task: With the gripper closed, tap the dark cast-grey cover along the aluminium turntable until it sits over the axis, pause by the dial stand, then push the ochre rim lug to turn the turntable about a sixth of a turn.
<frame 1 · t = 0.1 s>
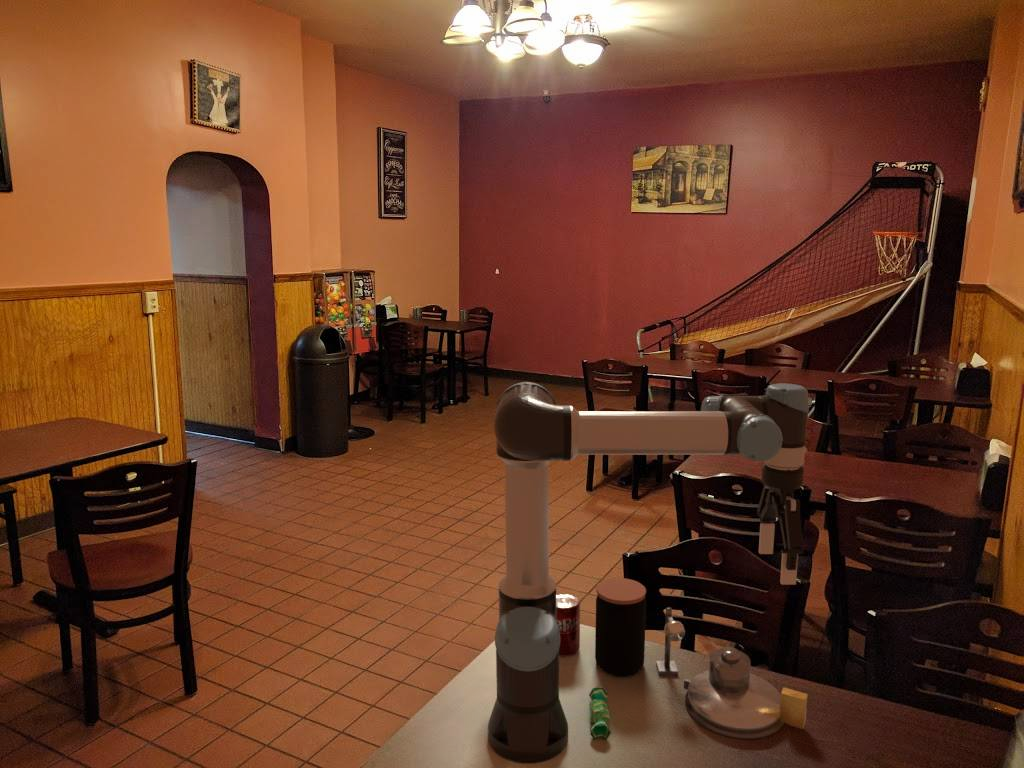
hand: (776, 567, 146), 28 cm above the table, fingers open, 13 cm apart
cover: (728, 681, 151), point 3 cm above the table, touching turntable
turntable: (742, 690, 146), point 4 cm above the table, hinge at 0.0°, touching cover
dial stand: (666, 670, 160), on the table
soda can: (563, 650, 169), on the table
coffee jar: (619, 665, 162), on the table
turntable base: (734, 708, 147), on the table
candy: (599, 721, 144), on the table
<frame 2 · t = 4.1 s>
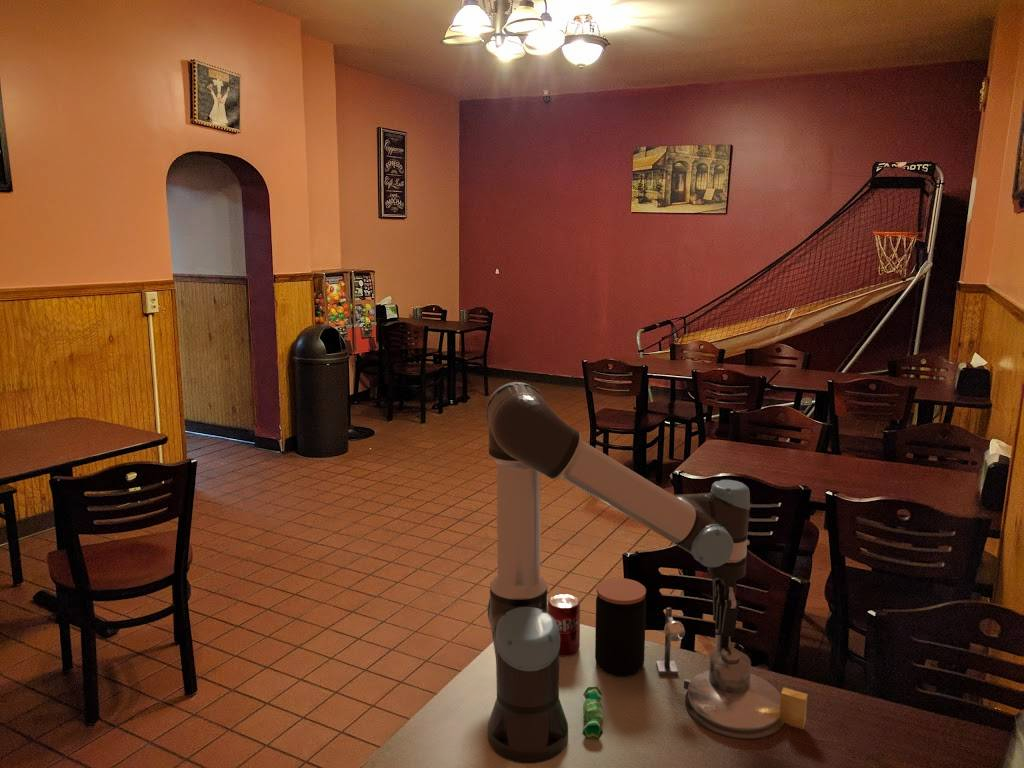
hand: (721, 659, 156), 4 cm above the table, fingers closed
cover: (729, 681, 151), point 3 cm above the table, touching gripper, turntable
candy: (592, 721, 144), on the table
everything else where it was.
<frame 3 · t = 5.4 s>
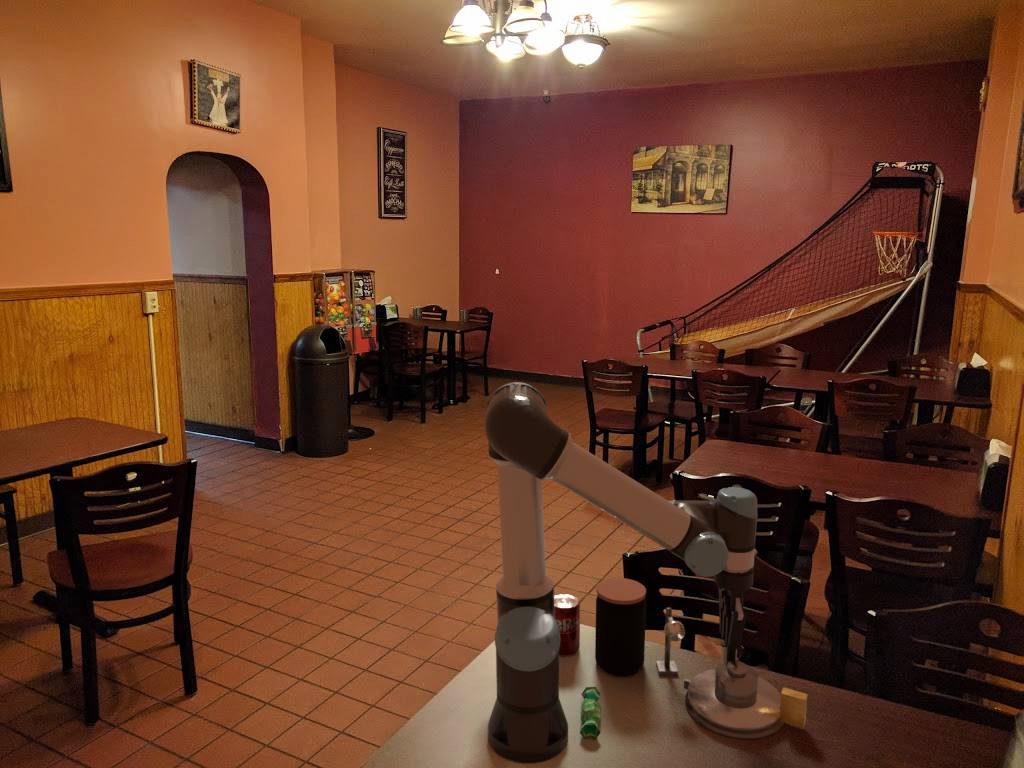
hand: (728, 672, 151), 4 cm above the table, fingers closed
cover: (735, 695, 146), point 3 cm above the table, touching gripper, turntable
everything else where it was.
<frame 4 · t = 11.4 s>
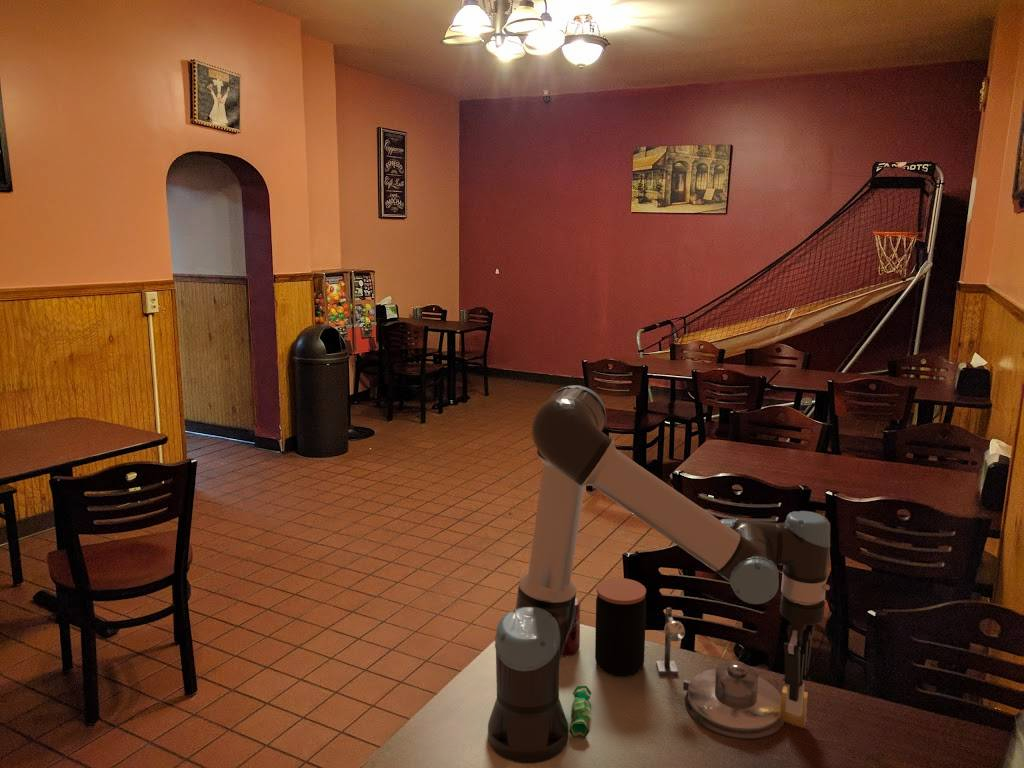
hand: (793, 712, 139), 4 cm above the table, fingers closed
cover: (735, 696, 146), point 3 cm above the table, touching turntable
turntable: (742, 689, 146), point 4 cm above the table, hinge at 2.7°, touching cover, gripper
candy: (580, 720, 144), on the table
everything else where it was.
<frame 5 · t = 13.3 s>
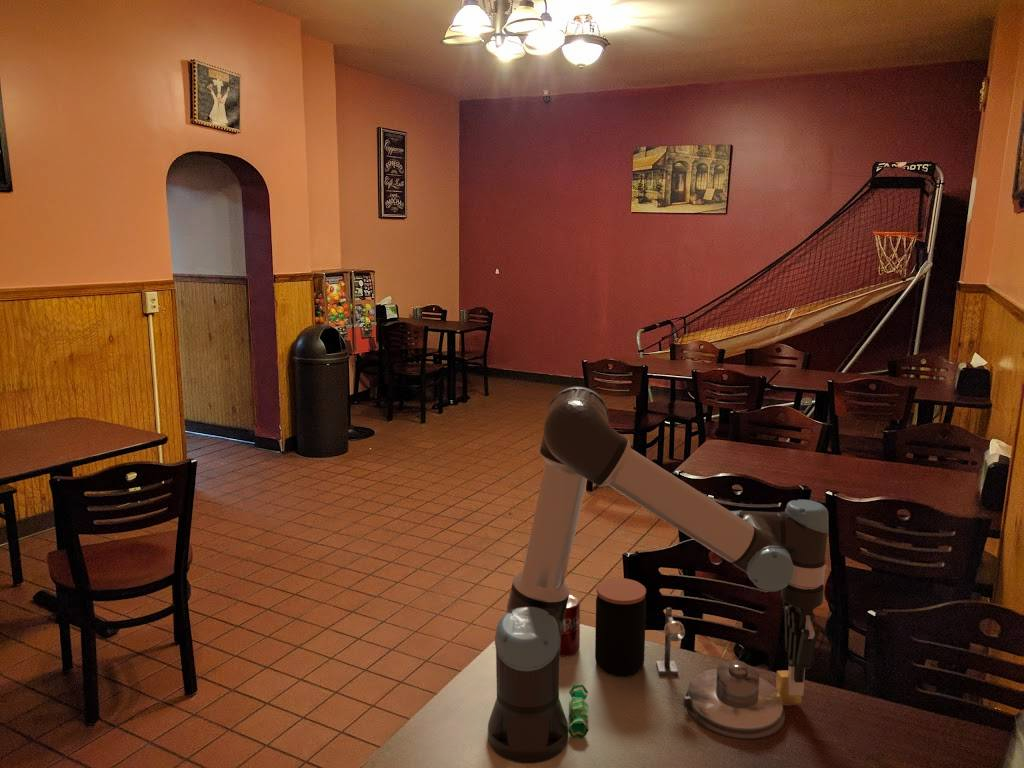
hand: (795, 693, 145), 4 cm above the table, fingers closed
turntable: (739, 687, 147), point 4 cm above the table, hinge at 35.9°, touching cover, gripper
everything else where it was.
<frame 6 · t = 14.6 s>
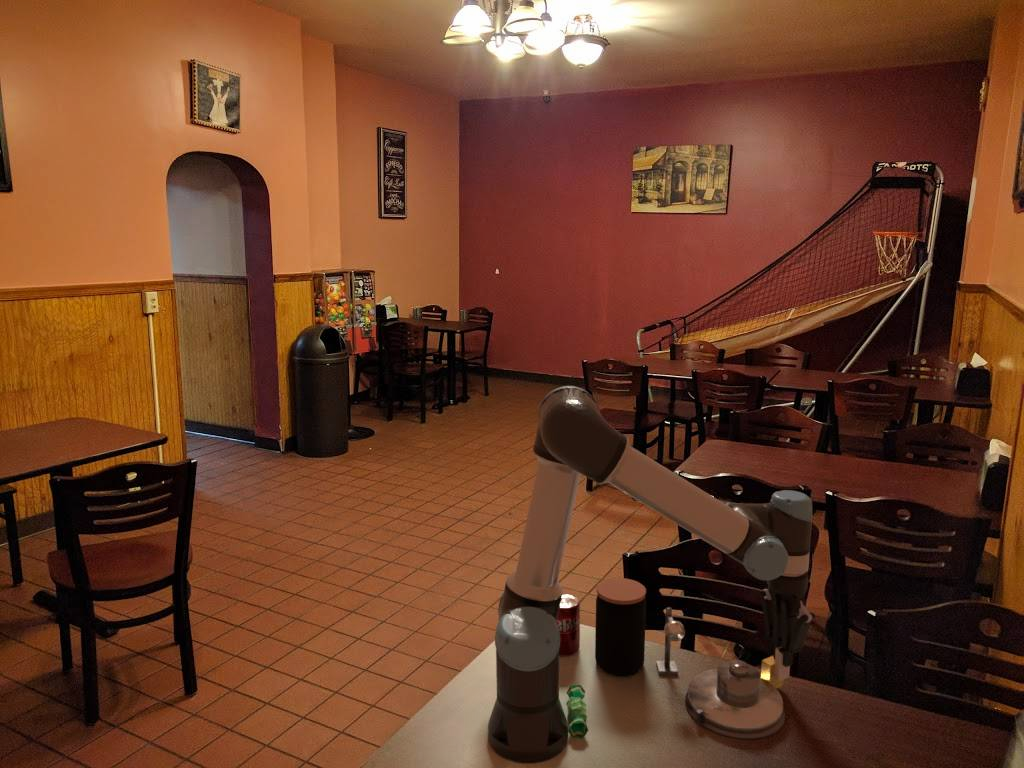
hand: (781, 677, 150), 4 cm above the table, fingers closed
turntable: (736, 686, 148), point 4 cm above the table, hinge at 62.7°, touching cover, gripper
candy: (577, 719, 145), on the table, touching arm
everything else where it was.
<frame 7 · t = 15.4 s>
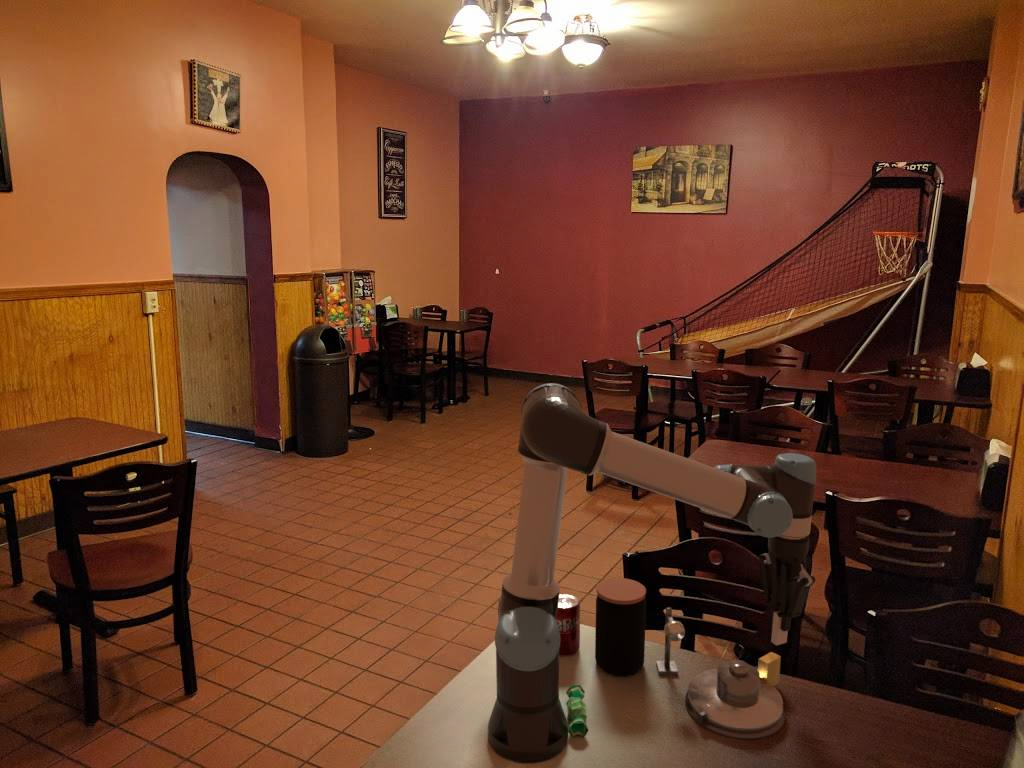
hand: (778, 642, 149), 12 cm above the table, fingers closed
turntable: (736, 685, 148), point 4 cm above the table, hinge at 67.6°, touching cover
candy: (576, 719, 145), on the table
everything else where it was.
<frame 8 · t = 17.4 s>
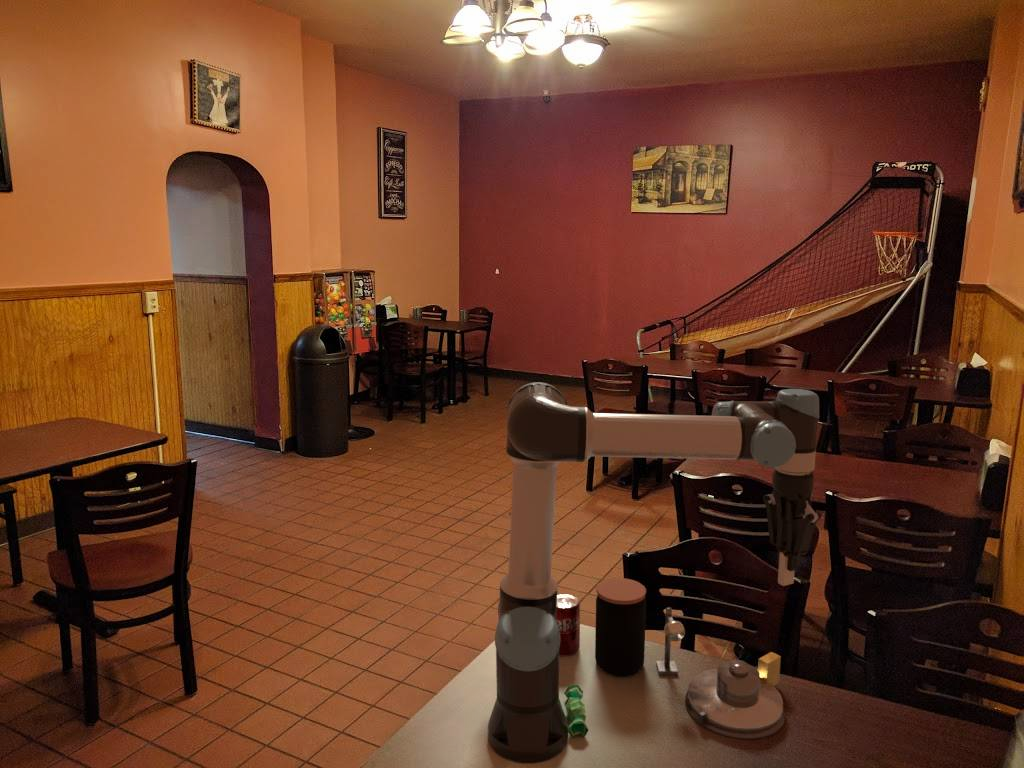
hand: (785, 583, 147), 24 cm above the table, fingers closed
nothing on the table moved.
at the end: cover 0.5 cm from the turntable (horizontally); turntable at +68° (first picture: +0°); cover tilted 0° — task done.
